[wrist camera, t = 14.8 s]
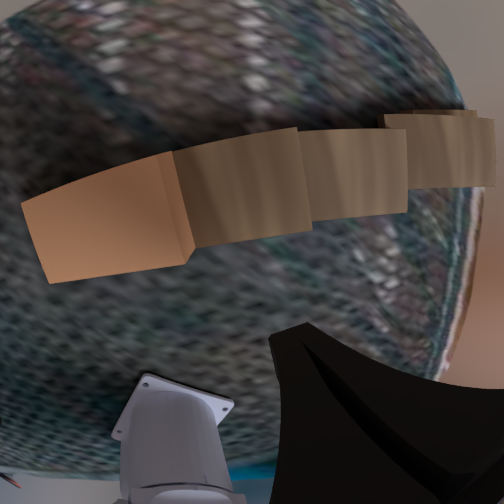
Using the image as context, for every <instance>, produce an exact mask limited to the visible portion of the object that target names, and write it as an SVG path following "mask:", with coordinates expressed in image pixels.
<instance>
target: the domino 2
mask: <svg viewBox="0 0 504 504" xmlns="http://www.w3.org/2000/svg"><path fill="white" fill-rule="evenodd" d="M172 155H173V159H174V164H175V168H176V172H177V176H178V181H179V185H180V189H181V193H182V197H183V201H184V205H185V209H186V213H187V217H188V221H189V225H190V228H191V232H192V236H193V240H194V244H195V248H201V247H207V246H213V245H220V244H226V243H232V242H239V241H245V240H252V239H258V238H265V237H271V236H278V235H284V234H291V233H297V232H304V231H311V230H312V222H311V214H310V207H309V200H308V193H307V186H306V180H305V173H304V167H303V161H302V155H301V149H300V143H299V137H298V131H297V127H292V128H286V129H279V130H273V131H267V132H261V133H255V134H250V135H244V136H239V137H234V138H229V139H224V140H220V141H215V142H211V143H206V144H202V145H197V146H193V147H189V148H185V149H181V150H177V151H173V152H172Z"/></svg>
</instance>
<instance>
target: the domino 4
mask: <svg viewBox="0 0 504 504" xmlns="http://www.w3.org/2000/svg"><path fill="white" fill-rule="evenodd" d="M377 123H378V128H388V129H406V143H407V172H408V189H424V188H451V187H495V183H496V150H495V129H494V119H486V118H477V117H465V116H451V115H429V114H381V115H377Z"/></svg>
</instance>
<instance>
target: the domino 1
mask: <svg viewBox="0 0 504 504" xmlns="http://www.w3.org/2000/svg"><path fill="white" fill-rule="evenodd" d="M21 206H22V209H23V213H24V216H25V219H26V222H27V225H28V228H29V231H30V234H31V237H32V240H33V243H34V246H35V249H36V251H37V254H38V257H39V259H40V262H41V264H42V267H43V269H44V272H45V274H46V277H47V279H48V281H49V284H52V283H58V282H65V281H72V280H79V279H86V278H93V277H100V276H107V275H114V274H121V273H127V272H134V271H141V270H148V269H155V268H162V267H169V266H175V265H182V264H186V262H187V260H188V259H189V257H190V255H191V254H192V252H193V251H194V249H195V244H194V240H193V236H192V232H191V228H190V225H189V221H188V217H187V213H186V209H185V205H184V201H183V197H182V193H181V189H180V185H179V181H178V176H177V172H176V168H175V164H174V159H173V155H172V151H169V152H165V153H161V154H157V155H154V156H150V157H147V158H143V159H140V160H136V161H133V162H130V163H127V164H123V165H120V166H117V167H114V168H111V169H108V170H105V171H102V172H99V173H96V174H93V175H90V176H88V177H85V178H82V179H79V180H77V181H74V182H71V183H69V184H66V185H63V186H61V187H58V188H56V189H53V190H51V191H48V192H46V193H43V194H41V195H39V196H36V197H34V198H32V199H29V200H27V201H25V202H22V203H21Z"/></svg>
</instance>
